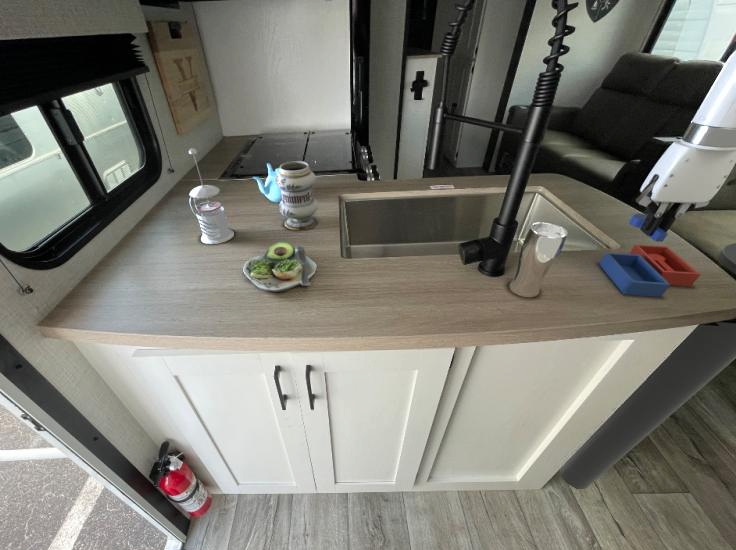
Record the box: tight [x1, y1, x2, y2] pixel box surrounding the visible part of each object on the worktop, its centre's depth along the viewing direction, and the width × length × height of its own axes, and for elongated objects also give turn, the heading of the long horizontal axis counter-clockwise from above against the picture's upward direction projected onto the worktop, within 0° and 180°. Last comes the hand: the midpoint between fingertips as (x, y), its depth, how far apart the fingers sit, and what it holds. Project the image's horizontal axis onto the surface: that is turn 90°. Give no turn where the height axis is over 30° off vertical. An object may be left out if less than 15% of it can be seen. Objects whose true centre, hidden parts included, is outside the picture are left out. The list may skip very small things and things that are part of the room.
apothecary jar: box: [275, 160, 319, 231], centre depth 98 cm, size 12×12×18 cm
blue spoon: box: [628, 213, 669, 243], centre depth 68 cm, size 9×3×2 cm, turn 170°
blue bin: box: [599, 252, 671, 298], centre depth 75 cm, size 12×7×3 cm, turn 170°
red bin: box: [628, 244, 702, 287], centre depth 77 cm, size 12×7×3 cm, turn 170°
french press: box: [188, 147, 235, 245], centre depth 91 cm, size 10×12×25 cm
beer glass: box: [508, 221, 569, 298], centre depth 69 cm, size 7×7×15 cm
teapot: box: [252, 162, 282, 203], centre depth 118 cm, size 15×15×10 cm
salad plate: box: [242, 241, 317, 293], centre depth 80 cm, size 19×18×5 cm
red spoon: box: [648, 253, 674, 271], centre depth 77 cm, size 9×3×2 cm, turn 170°
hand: (651, 232), depth 67 cm, fingers closed on blue spoon, 1 cm apart
